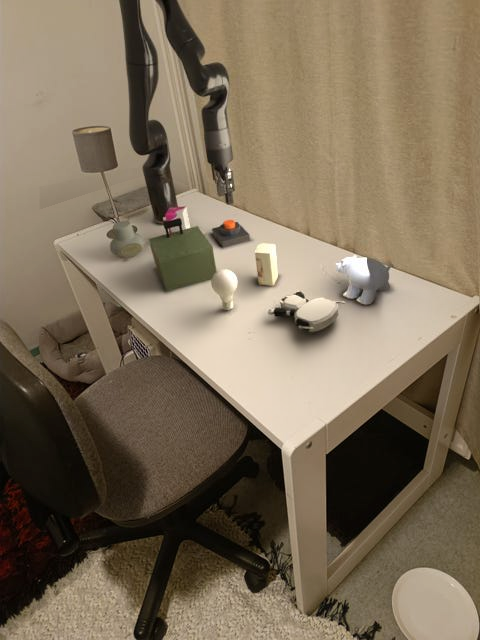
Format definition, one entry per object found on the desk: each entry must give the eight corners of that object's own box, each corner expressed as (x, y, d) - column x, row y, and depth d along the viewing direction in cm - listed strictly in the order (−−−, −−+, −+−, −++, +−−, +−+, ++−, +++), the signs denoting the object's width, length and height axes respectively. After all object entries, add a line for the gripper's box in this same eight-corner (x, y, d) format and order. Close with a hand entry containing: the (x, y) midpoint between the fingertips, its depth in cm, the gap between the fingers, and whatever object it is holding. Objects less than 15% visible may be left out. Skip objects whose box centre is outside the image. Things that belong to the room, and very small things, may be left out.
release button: (222, 226, 141) (221, 221, 140) (232, 223, 142) (232, 218, 141) (226, 230, 138) (225, 225, 137) (236, 227, 139) (236, 222, 138)
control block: (212, 234, 146) (210, 223, 143) (237, 227, 148) (236, 216, 145) (223, 248, 137) (221, 236, 135) (250, 240, 139) (248, 229, 137)
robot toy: (265, 322, 106) (316, 343, 96) (263, 307, 104) (314, 327, 94) (297, 299, 112) (347, 316, 103) (296, 283, 110) (347, 300, 100)
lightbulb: (222, 319, 108) (216, 281, 101) (211, 307, 112) (205, 270, 106) (245, 310, 110) (240, 272, 103) (233, 298, 114) (228, 261, 108)
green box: (156, 269, 131) (149, 242, 126) (203, 256, 134) (198, 229, 129) (166, 291, 121) (159, 263, 115) (217, 276, 124) (212, 248, 119)
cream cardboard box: (263, 274, 122) (260, 242, 116) (278, 276, 121) (276, 243, 115) (257, 285, 118) (254, 251, 112) (273, 286, 117) (270, 253, 111)
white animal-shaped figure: (350, 271, 119) (351, 239, 113) (400, 290, 109) (404, 256, 104) (324, 288, 113) (325, 256, 108) (375, 310, 104) (378, 275, 98)
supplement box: (193, 238, 145) (186, 205, 138) (189, 247, 140) (183, 213, 133) (176, 239, 146) (169, 206, 139) (172, 248, 141) (164, 214, 134)
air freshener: (115, 263, 137) (106, 234, 131) (110, 252, 143) (101, 224, 137) (149, 253, 140) (141, 224, 134) (143, 243, 146) (135, 215, 140)
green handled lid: (149, 241, 126) (144, 223, 123) (197, 228, 130) (194, 211, 126) (159, 263, 115) (155, 244, 112) (212, 248, 118) (209, 230, 115)
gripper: (239, 147, 120) (245, 204, 130) (222, 136, 131) (229, 189, 141) (213, 153, 118) (221, 210, 128) (198, 141, 129) (207, 195, 139)
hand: (225, 199), depth 135 cm, fingers open, 7 cm apart
